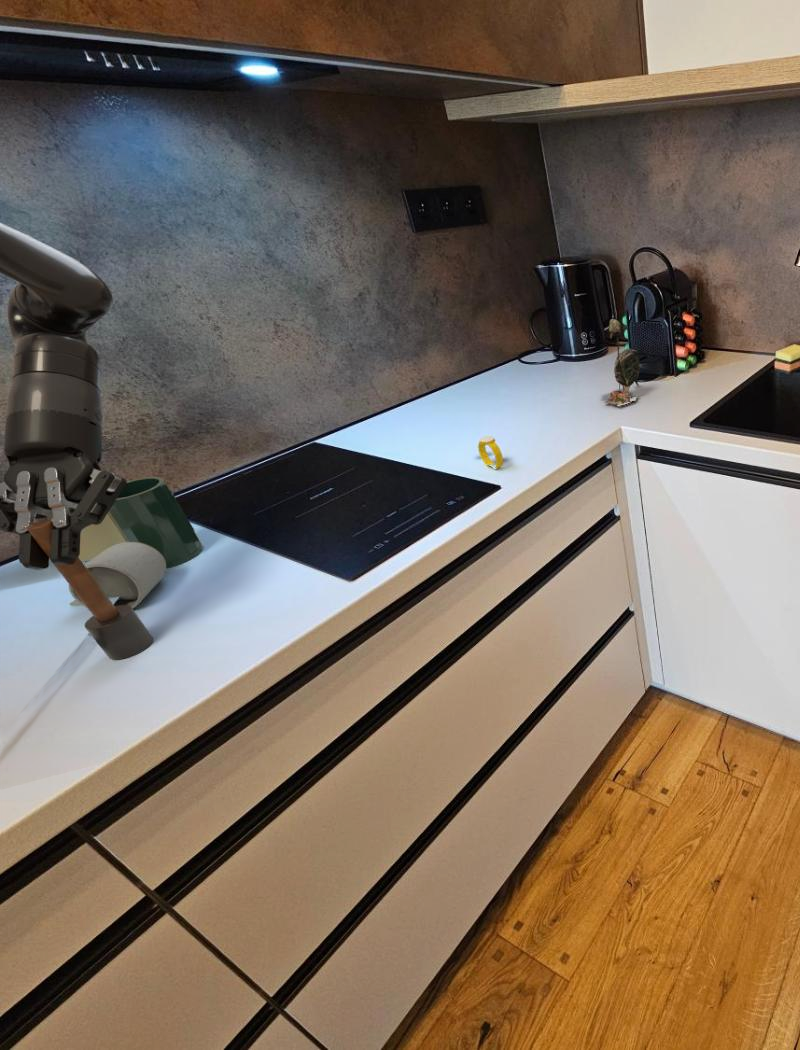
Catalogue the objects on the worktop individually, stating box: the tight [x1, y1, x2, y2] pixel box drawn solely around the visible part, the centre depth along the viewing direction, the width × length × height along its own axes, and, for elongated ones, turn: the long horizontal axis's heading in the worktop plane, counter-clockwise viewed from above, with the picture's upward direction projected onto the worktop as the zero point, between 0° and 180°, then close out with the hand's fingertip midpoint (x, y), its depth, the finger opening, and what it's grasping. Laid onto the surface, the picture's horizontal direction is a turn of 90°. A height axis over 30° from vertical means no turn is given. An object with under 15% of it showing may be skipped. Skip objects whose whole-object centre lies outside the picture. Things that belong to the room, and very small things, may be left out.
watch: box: [477, 435, 504, 469], centre depth 112 cm, size 6×3×6 cm, turn 51°
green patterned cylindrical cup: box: [107, 476, 205, 569], centre depth 88 cm, size 8×8×12 cm
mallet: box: [27, 520, 154, 661], centre depth 68 cm, size 4×4×18 cm
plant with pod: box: [604, 318, 641, 406], centre depth 138 cm, size 8×11×20 cm
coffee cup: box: [34, 503, 126, 563], centre depth 92 cm, size 9×9×12 cm
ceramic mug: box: [68, 542, 167, 610], centre depth 80 cm, size 11×8×8 cm
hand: (49, 565), depth 64 cm, fingers closed on mallet, 2 cm apart
